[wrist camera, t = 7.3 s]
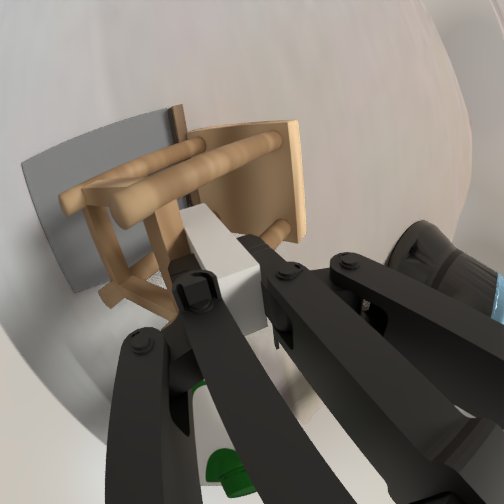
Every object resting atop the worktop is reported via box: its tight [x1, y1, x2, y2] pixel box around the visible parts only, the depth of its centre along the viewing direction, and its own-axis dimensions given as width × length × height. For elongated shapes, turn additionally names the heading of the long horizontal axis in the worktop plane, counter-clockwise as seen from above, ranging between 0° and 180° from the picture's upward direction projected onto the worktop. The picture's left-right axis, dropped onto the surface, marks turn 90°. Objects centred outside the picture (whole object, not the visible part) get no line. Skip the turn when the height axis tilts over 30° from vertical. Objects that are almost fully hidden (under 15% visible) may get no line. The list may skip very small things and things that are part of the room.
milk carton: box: [191, 379, 257, 498], centre depth 25 cm, size 9×9×20 cm
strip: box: [171, 104, 201, 206], centre depth 23 cm, size 1×14×1 cm, turn 9°
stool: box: [58, 120, 306, 330], centre depth 17 cm, size 9×9×14 cm
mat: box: [22, 108, 188, 293], centre depth 21 cm, size 14×14×1 cm
